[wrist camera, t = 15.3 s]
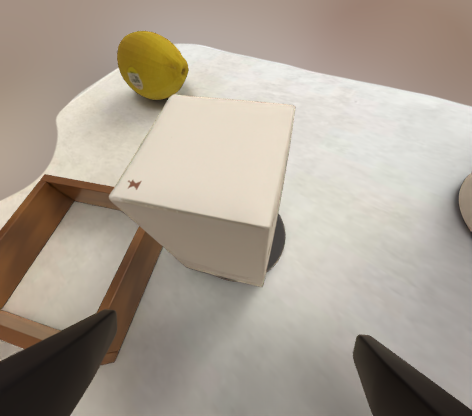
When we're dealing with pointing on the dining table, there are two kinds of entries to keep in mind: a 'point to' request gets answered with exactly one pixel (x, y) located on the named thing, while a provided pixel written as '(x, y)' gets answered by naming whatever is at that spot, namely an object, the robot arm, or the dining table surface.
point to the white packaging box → (211, 183)
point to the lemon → (151, 65)
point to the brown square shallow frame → (34, 238)
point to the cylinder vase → (466, 201)
